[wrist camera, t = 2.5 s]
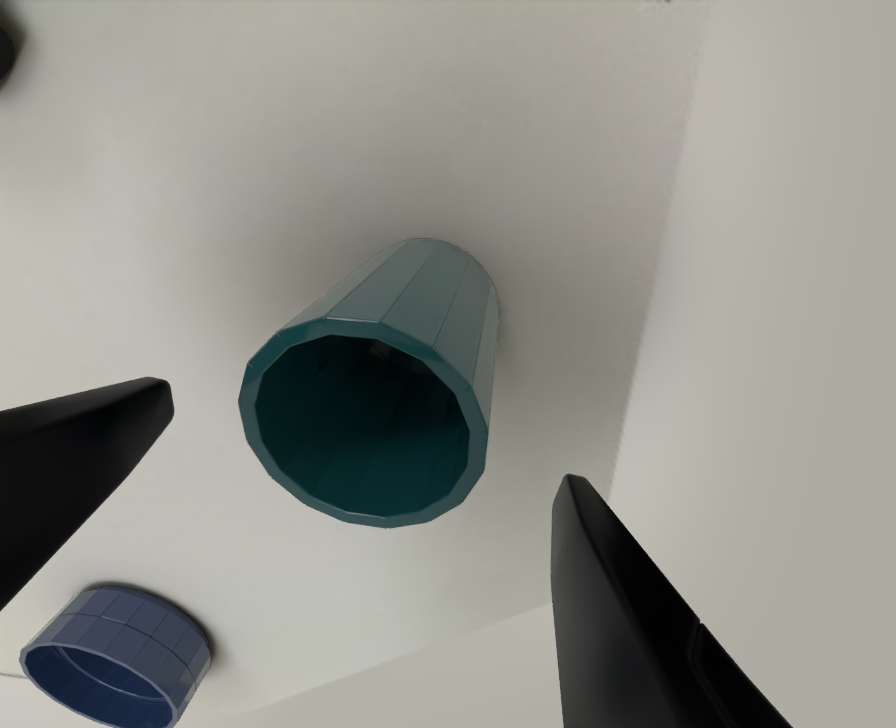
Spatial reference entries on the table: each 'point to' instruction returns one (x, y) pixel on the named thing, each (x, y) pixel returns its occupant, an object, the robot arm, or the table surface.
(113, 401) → the robot arm
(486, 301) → the cup
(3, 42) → the toy car
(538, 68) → the table surface
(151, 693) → the bowl
